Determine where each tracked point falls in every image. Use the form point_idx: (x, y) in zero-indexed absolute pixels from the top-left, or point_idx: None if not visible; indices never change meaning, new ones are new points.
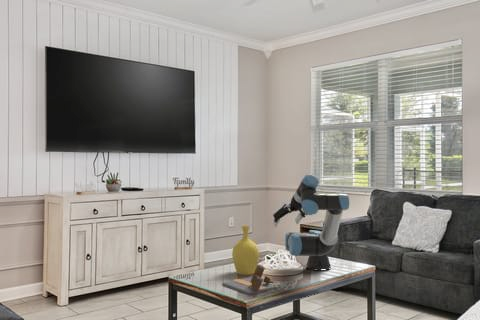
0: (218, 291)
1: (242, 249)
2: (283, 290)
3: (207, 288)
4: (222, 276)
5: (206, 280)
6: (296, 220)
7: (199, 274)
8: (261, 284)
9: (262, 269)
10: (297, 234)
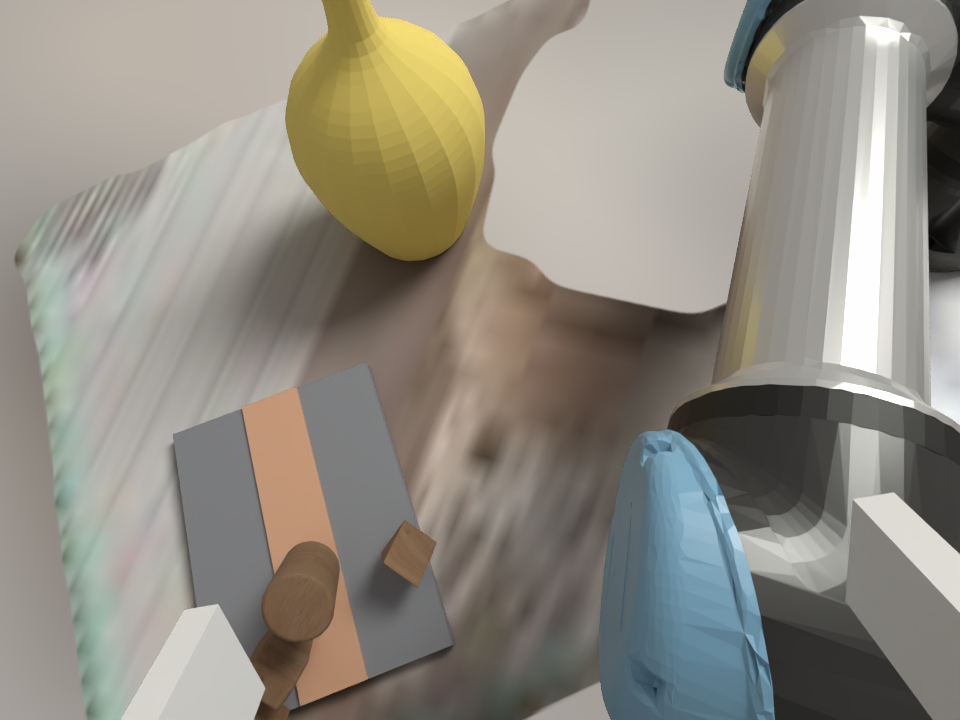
0: (92, 581)
1: (319, 160)
2: (485, 701)
3: (71, 493)
4: (264, 264)
5: (148, 324)
6: (892, 598)
7: (173, 201)
8: (375, 553)
9: (303, 639)
10: (757, 652)
